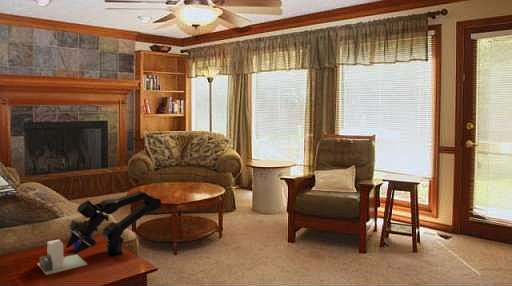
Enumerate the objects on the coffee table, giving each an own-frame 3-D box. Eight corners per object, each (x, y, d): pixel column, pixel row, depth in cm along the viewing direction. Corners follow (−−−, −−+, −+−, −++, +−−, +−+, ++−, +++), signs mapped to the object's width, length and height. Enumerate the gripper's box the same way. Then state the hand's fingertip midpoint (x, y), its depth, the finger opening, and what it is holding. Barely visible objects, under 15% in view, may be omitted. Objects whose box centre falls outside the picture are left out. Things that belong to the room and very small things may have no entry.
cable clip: (84, 243, 226) (84, 232, 225) (92, 244, 225) (92, 233, 224) (71, 252, 214) (71, 240, 213) (79, 253, 213) (79, 241, 212)
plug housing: (59, 261, 200) (58, 239, 198) (63, 266, 195) (63, 243, 194) (47, 264, 196) (47, 241, 195) (51, 269, 192) (51, 245, 190)
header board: (76, 256, 209) (76, 246, 208) (87, 266, 199) (87, 256, 198) (36, 265, 197) (36, 254, 196) (46, 276, 187) (46, 265, 186)
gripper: (73, 208, 207) (50, 235, 201) (88, 219, 193) (63, 248, 188) (90, 221, 213) (67, 247, 208) (105, 232, 200) (82, 260, 194)
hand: (69, 250), depth 199 cm, fingers open, 9 cm apart
